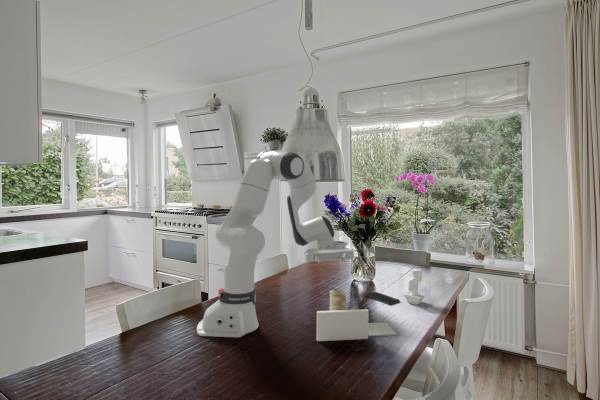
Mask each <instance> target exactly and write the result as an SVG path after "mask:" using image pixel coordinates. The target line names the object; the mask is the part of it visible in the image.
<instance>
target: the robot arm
mask: <svg viewBox="0 0 600 400" xmlns="http://www.w3.org/2000/svg"><path fill="white" fill-rule="evenodd" d="M274 179H275V180H287V183H288V185H289V188H290V190H289V194H288V196H286V197H287V199H286V203H287V209H288V214H289V219H290V224H291V233H292V235H291V236H292V239H293V241H294V243H295V245H298V246H301V247H305V246H307V245H309V244H310V243H313V242H315V241H316V242H315V244H316V245H315V247H316V248H308V249H307V250H306V251H305V252H304V255H305V260H306V262H317V263H318V264H319V263H322V262H325V261H327V262H328V261H337V260H340V261H341V262H345V261H346V260H349V259H350V260H351V259H354V257H355V253H354V252H355V251H354V248H352V246H351V245H349V244H348V242H347V241H340V240H339V241H338V240H335V239H334V237H335V231H334V228H333V225H332V224H331V221H330V220H329V218H328V217H326V216H324V215H321V216H317V217H314V218H312V219H311V220H307V221H304V222H300V216H299V210H300V208H301V207H302V206H304V204H305V203H307V202H308V201H309V200H310V199H311V198H312V197H313V196H314V195H315V192H316V191H317V185H316V180H315V176H314V175H313V171H312V169H311V167H310V165H309V163H308V162H307V160H306V158H305V157H303V156H302V155H300V154H298V153H296V152H292V151H291V152H290V151H289V152H288V151H283V150H264V151H261V152H260V153H258V155H257V156H256V157H255V159H253V160H251V161H250V162H249V163H248V165H247V167H246V169H245V171H244V173H243V175H242V178H241V181H240V184H239V186H238V187H239V188H238V190H237V193H236V196H235V199H234V202H233V205H232V206H231V209H230V210H229V212H228V213H227V215H226V217H225V218H224V220H223V222H222V223H220V224H219V225H218V226H217V228H216V231H215V239H216V241H217V242H218V244H219V245H220V246H221V247H222V248H223V249H226V250H228V251H229V257H228V262H227V265H226V266H225V268H224V270H223V273H224V274H223V276H224V277H223V287H219V289H218V291H217V292H218V299H217V300H216V302H214V303H213V304H211V305H210V306H209V307H207V309H206V310H205V312H204V314H203V318H202V319H201V320H200V321H199V322H198V324H197V326H196V334H197V335H198V336H200V337H219V338H220V337H223V338H241V337H243V336H245V335H246V334H249V333H252V332H254V331H256V330H257V329H258V328H259V326H260V324H259V322H258V317H257V311H256V302H257V299H256V298H257V296H256V295H257V292H256V288H255V271H256V270H255V269H256V263H257V260H258V257H259V255H260V253H261V252H262V251H263V250H264V247H265V244H266V238H265V235H264V233H263V232H262V231H261V230H260V229H259V228H257V227H255V226H254V225H253V224H254V222H255V221H256V220H257V218H258V217H259V216H260V215H261V214H262V213H263V212H264V209H265V205H266V202H267V199H268V196H269V192H270V188H271V184H272V181H273V180H274Z"/></svg>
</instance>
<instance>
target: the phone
mask: <svg viewBox="0 0 600 400" xmlns="http://www.w3.org/2000/svg"><path fill="white" fill-rule="evenodd" d="M364 296H365V298H368V299H371V300H373V301H376V302H378V303H382V304H385V305H387V306H393V305H396V304H398V303H400V302H401V301H400V299H398V298H396V297H393V296H389V295H387V294H383V293H381V292H378V291H373V292H368V293H365V295H364Z"/></svg>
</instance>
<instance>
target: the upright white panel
mask: <svg viewBox="0 0 600 400" xmlns="http://www.w3.org/2000/svg"><path fill="white" fill-rule="evenodd" d="M369 314H370V313H369V309H367V308H365V309H363V308H361V309H346V310H334V311H329V310H317V311H316V339H315V340H316V341H317V342H328V341H330V342H333V341H351V340H368V339H369V335H368V323H369V317H370V315H369Z"/></svg>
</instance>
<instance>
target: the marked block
mask: <svg viewBox="0 0 600 400" xmlns="http://www.w3.org/2000/svg"><path fill="white" fill-rule="evenodd" d="M334 310H347V293H346V292H345V291H344V289H332V290H331V289H330V290H329V310H328V311H334Z"/></svg>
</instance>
